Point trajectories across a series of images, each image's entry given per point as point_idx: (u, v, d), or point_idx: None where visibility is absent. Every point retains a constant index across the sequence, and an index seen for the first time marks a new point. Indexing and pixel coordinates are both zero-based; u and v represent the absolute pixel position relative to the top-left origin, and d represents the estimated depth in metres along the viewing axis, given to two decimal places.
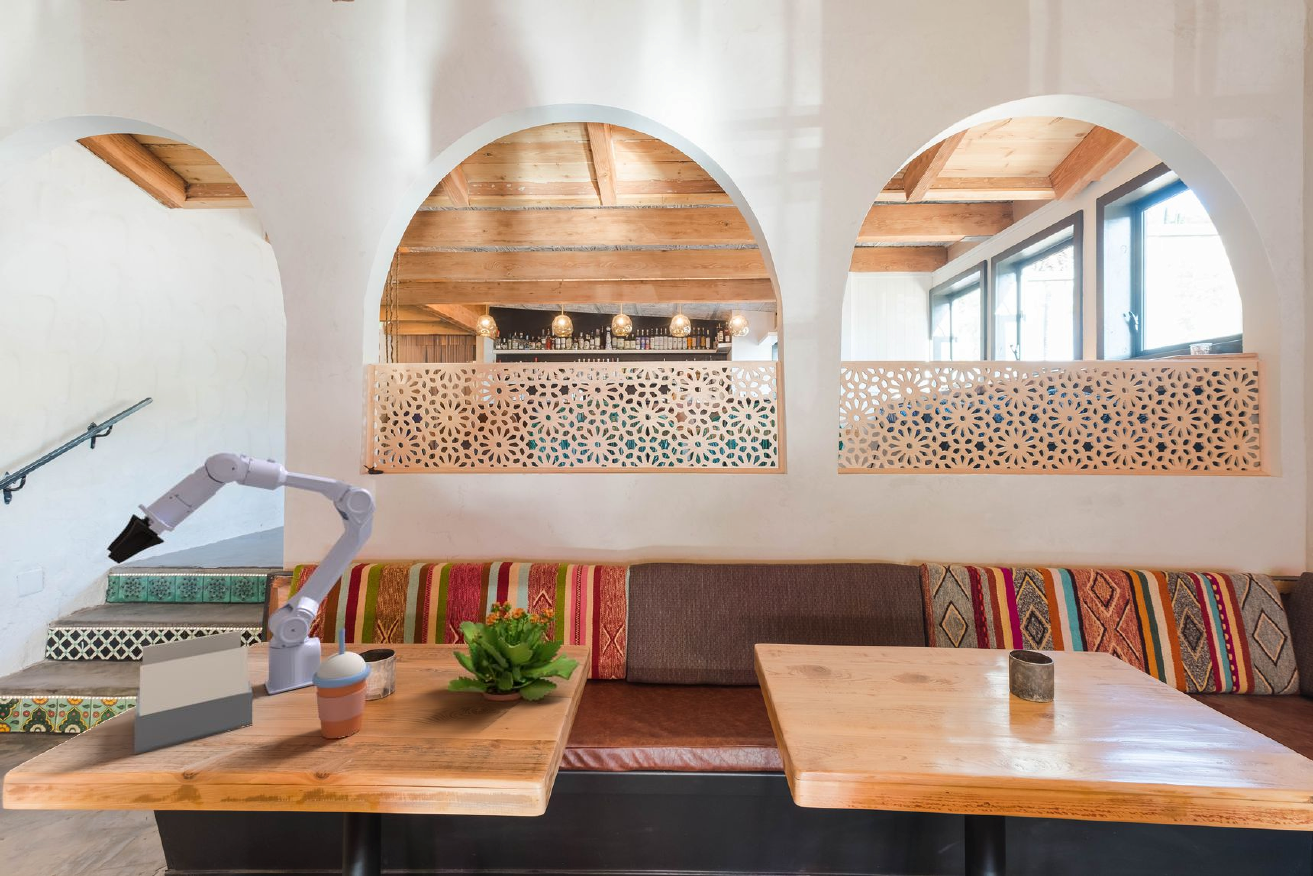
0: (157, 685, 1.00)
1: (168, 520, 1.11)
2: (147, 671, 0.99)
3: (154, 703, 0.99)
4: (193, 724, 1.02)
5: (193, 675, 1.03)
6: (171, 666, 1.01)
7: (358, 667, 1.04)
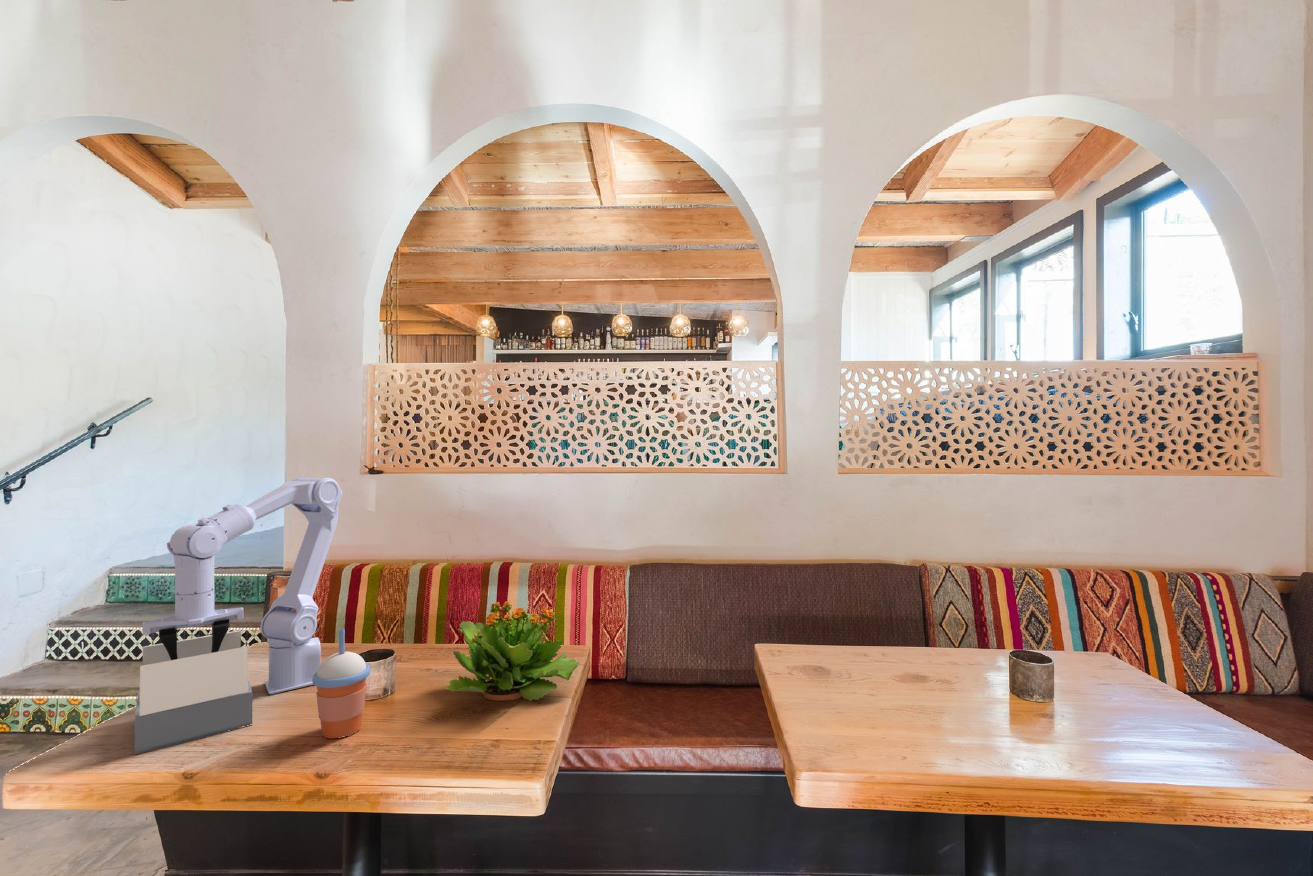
0: (157, 685, 1.00)
1: None
2: (147, 671, 0.99)
3: (154, 703, 0.99)
4: (193, 724, 1.02)
5: (193, 675, 1.03)
6: (171, 666, 1.01)
7: (358, 667, 1.04)
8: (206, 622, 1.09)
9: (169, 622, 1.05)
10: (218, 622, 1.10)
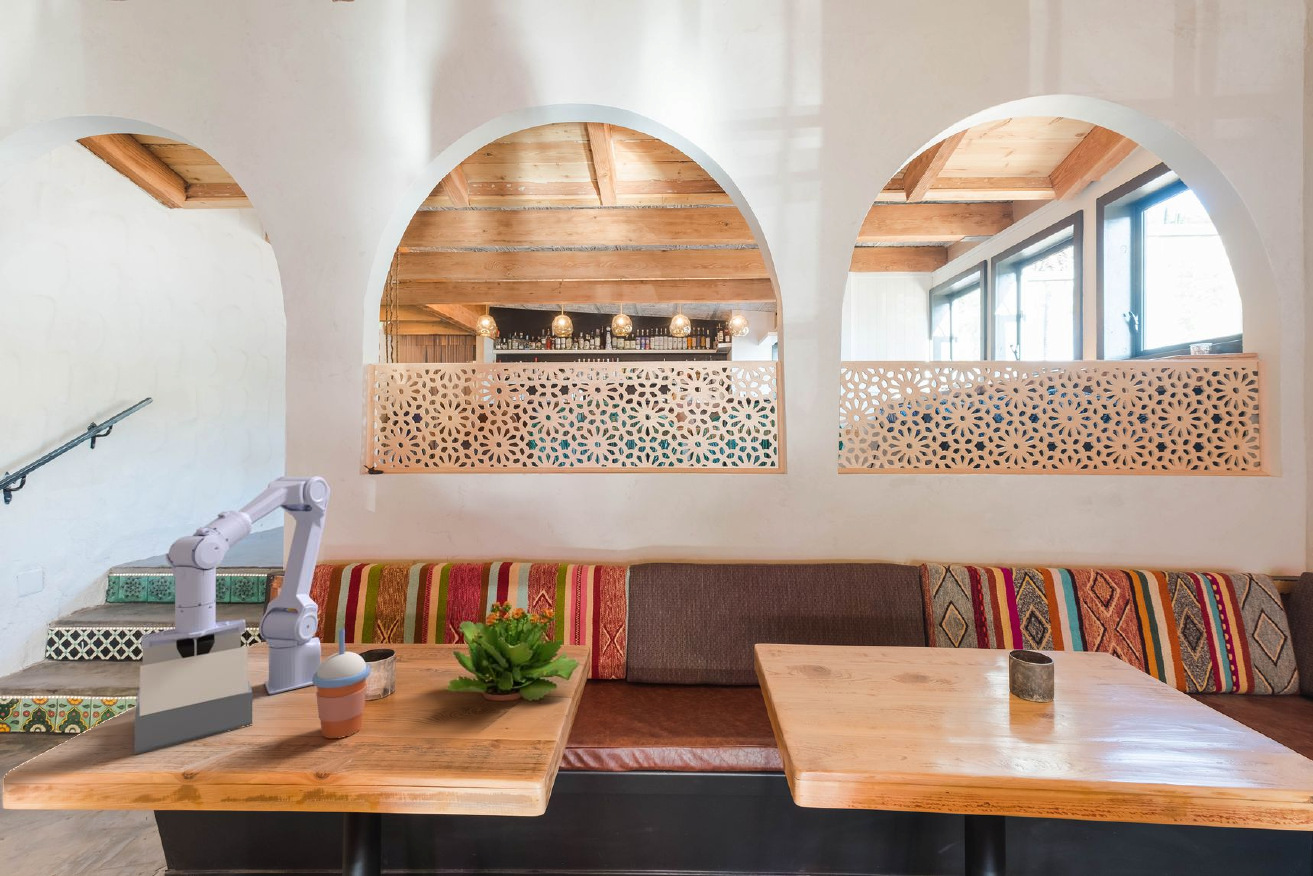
0: (157, 685, 1.00)
1: None
2: (147, 671, 0.99)
3: (154, 703, 0.99)
4: (193, 724, 1.02)
5: (193, 675, 1.03)
6: (171, 666, 1.01)
7: (358, 667, 1.04)
8: (207, 635, 1.06)
9: (169, 635, 1.02)
10: None
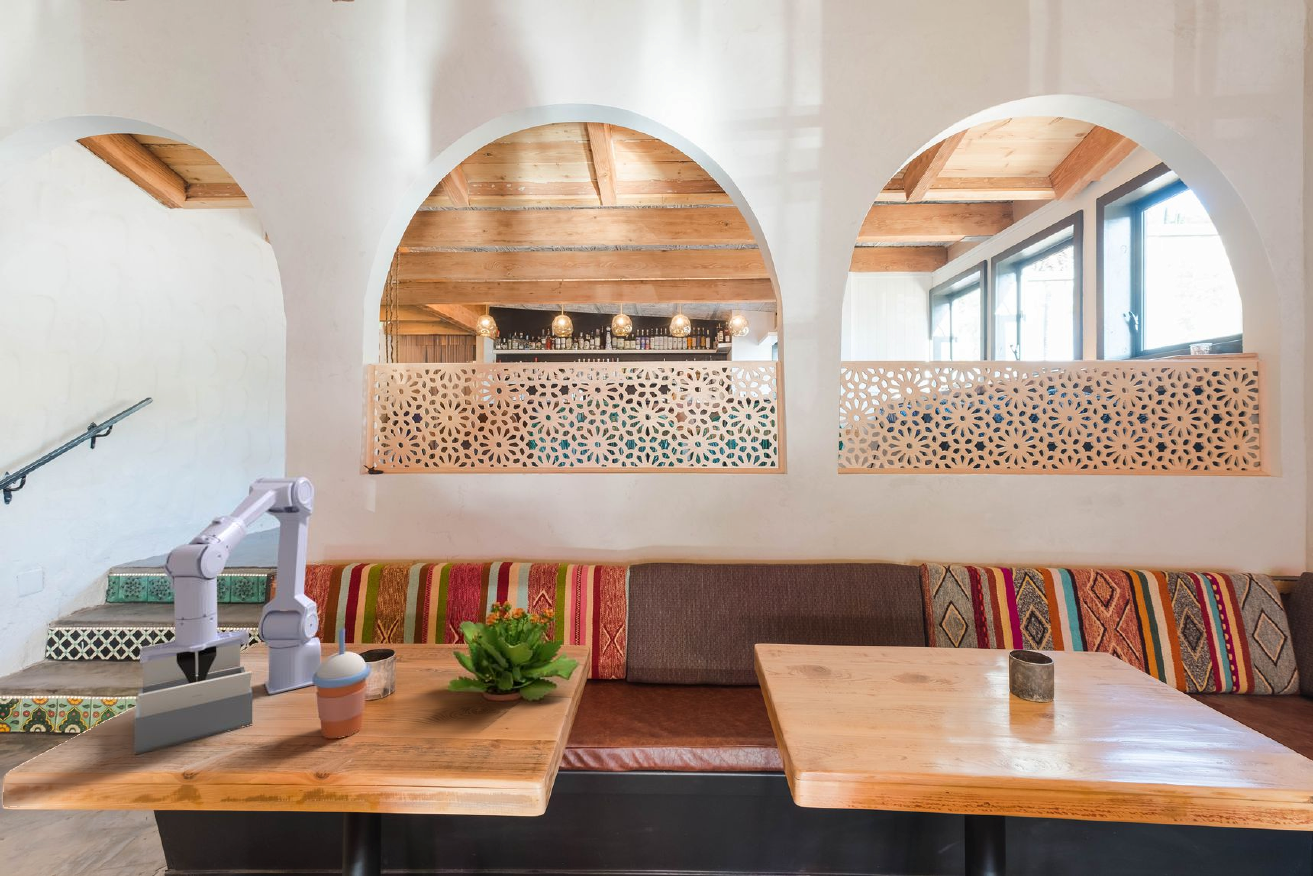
0: (157, 702, 0.96)
1: None
2: (145, 697, 0.94)
3: (154, 710, 0.98)
4: (193, 724, 1.02)
5: (194, 693, 0.99)
6: (171, 692, 0.96)
7: (358, 667, 1.04)
8: (209, 647, 1.02)
9: (168, 649, 0.97)
10: None
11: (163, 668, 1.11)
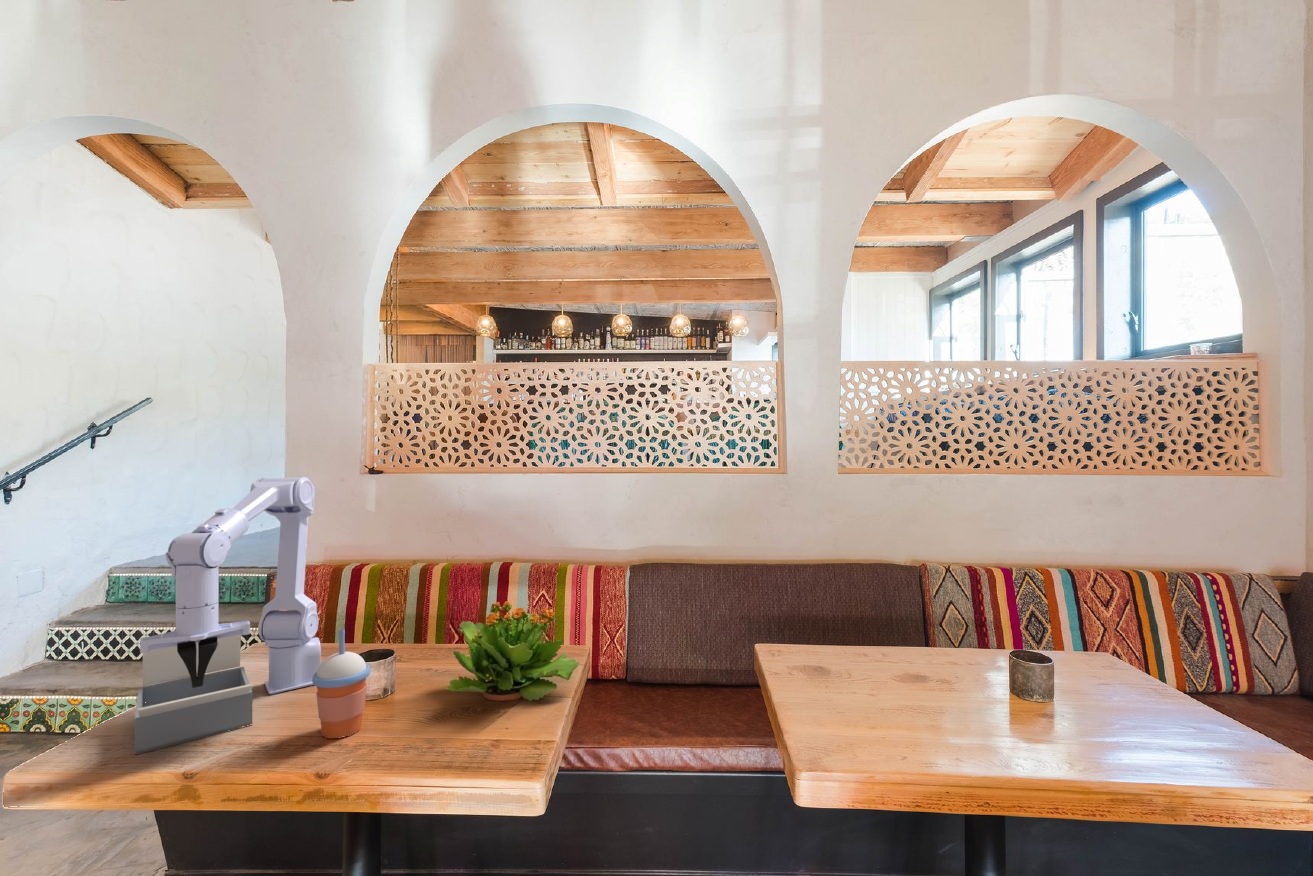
0: (157, 709, 0.96)
1: None
2: (145, 710, 0.93)
3: (154, 713, 0.98)
4: (193, 724, 1.02)
5: (194, 701, 0.99)
6: (171, 704, 0.95)
7: (357, 667, 1.04)
8: (209, 637, 1.01)
9: (169, 638, 0.96)
10: (222, 637, 1.01)
11: (163, 668, 1.11)
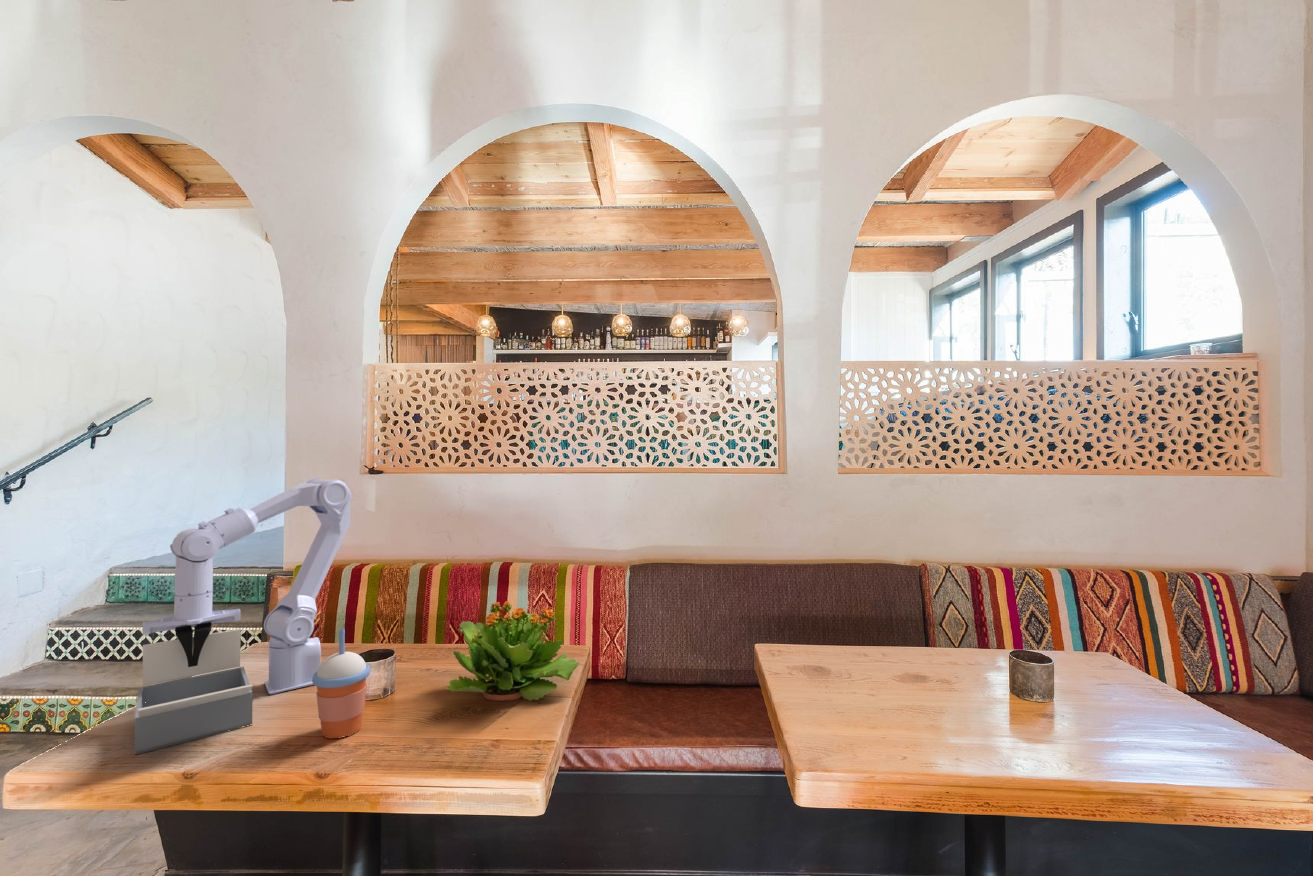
0: (157, 710, 0.96)
1: None
2: (145, 710, 0.93)
3: (154, 713, 0.98)
4: (193, 724, 1.02)
5: (194, 701, 0.99)
6: (171, 704, 0.95)
7: (357, 667, 1.04)
8: (204, 623, 1.13)
9: (168, 622, 1.08)
10: None
11: (163, 667, 1.11)
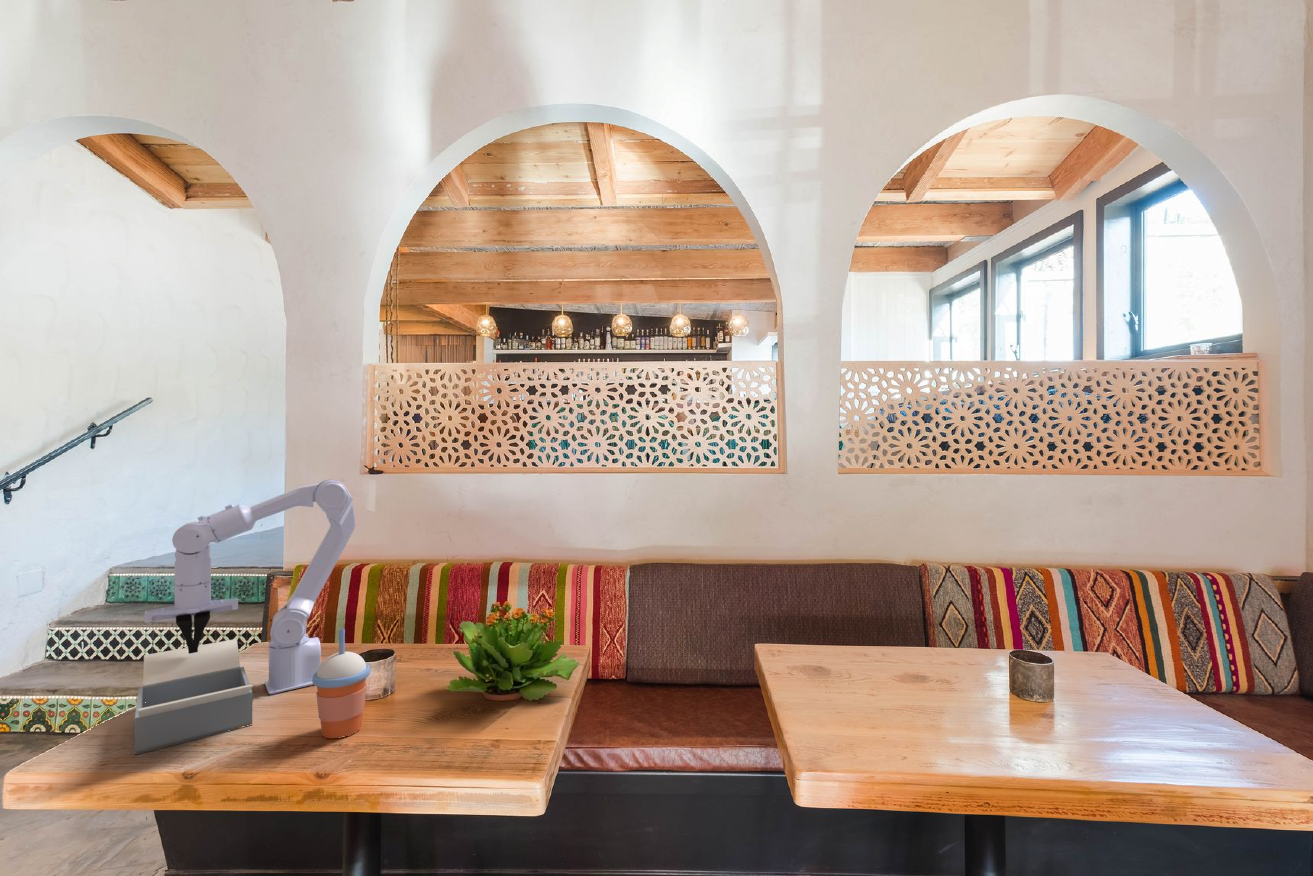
0: (157, 710, 0.96)
1: None
2: (145, 710, 0.93)
3: (154, 713, 0.98)
4: (193, 724, 1.02)
5: (194, 701, 0.99)
6: (171, 704, 0.95)
7: (357, 667, 1.04)
8: (203, 611, 1.18)
9: (169, 611, 1.14)
10: (214, 611, 1.19)
11: (163, 670, 1.14)
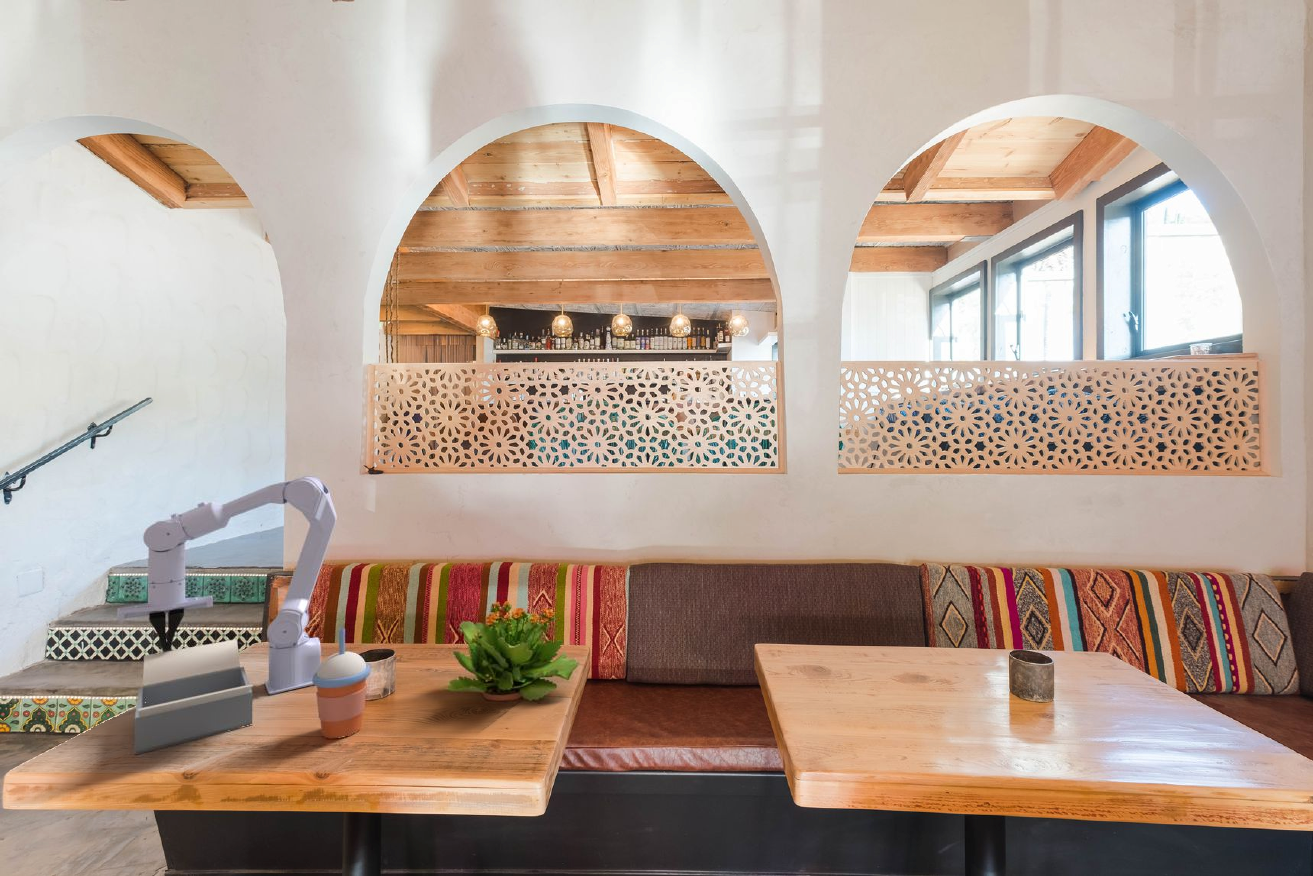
0: (157, 710, 0.96)
1: None
2: (145, 710, 0.93)
3: (154, 713, 0.98)
4: (193, 724, 1.02)
5: (194, 701, 0.99)
6: (171, 704, 0.95)
7: (358, 667, 1.04)
8: (177, 609, 1.18)
9: (142, 608, 1.14)
10: None
11: (163, 670, 1.14)
